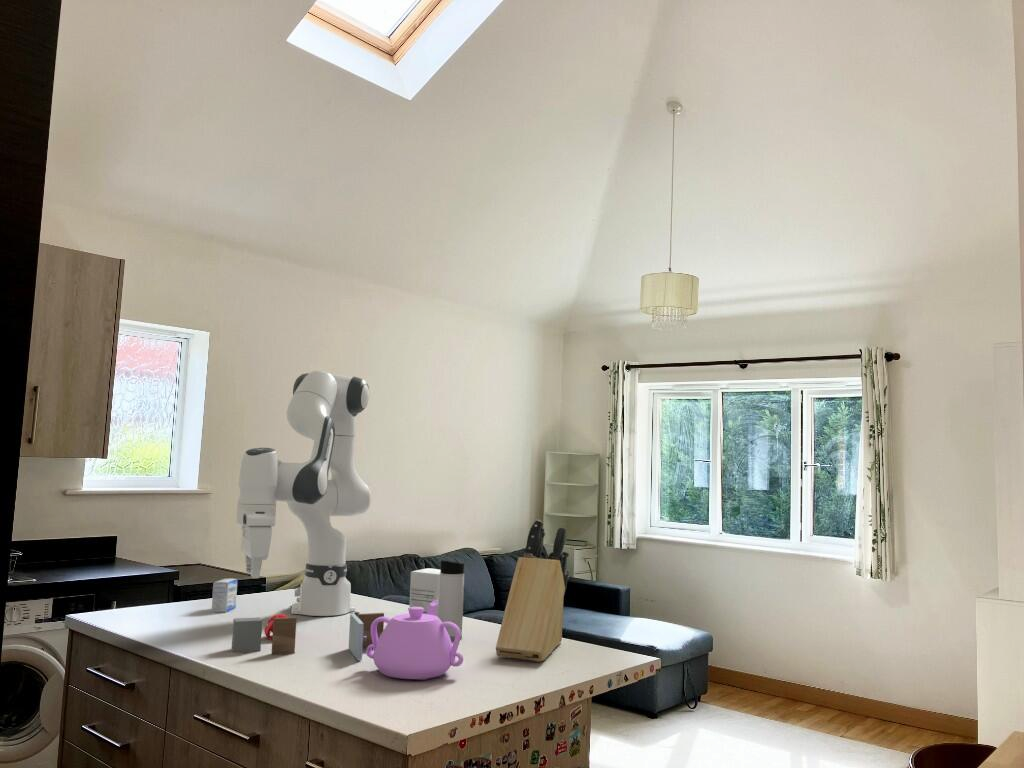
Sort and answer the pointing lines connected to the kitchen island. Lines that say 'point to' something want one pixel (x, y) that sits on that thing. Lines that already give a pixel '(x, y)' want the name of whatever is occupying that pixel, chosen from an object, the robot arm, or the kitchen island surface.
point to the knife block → (535, 600)
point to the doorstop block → (246, 634)
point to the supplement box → (424, 588)
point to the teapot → (414, 645)
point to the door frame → (287, 632)
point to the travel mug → (451, 595)
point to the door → (356, 636)
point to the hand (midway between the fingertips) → (252, 575)
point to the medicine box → (224, 595)
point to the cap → (270, 625)
